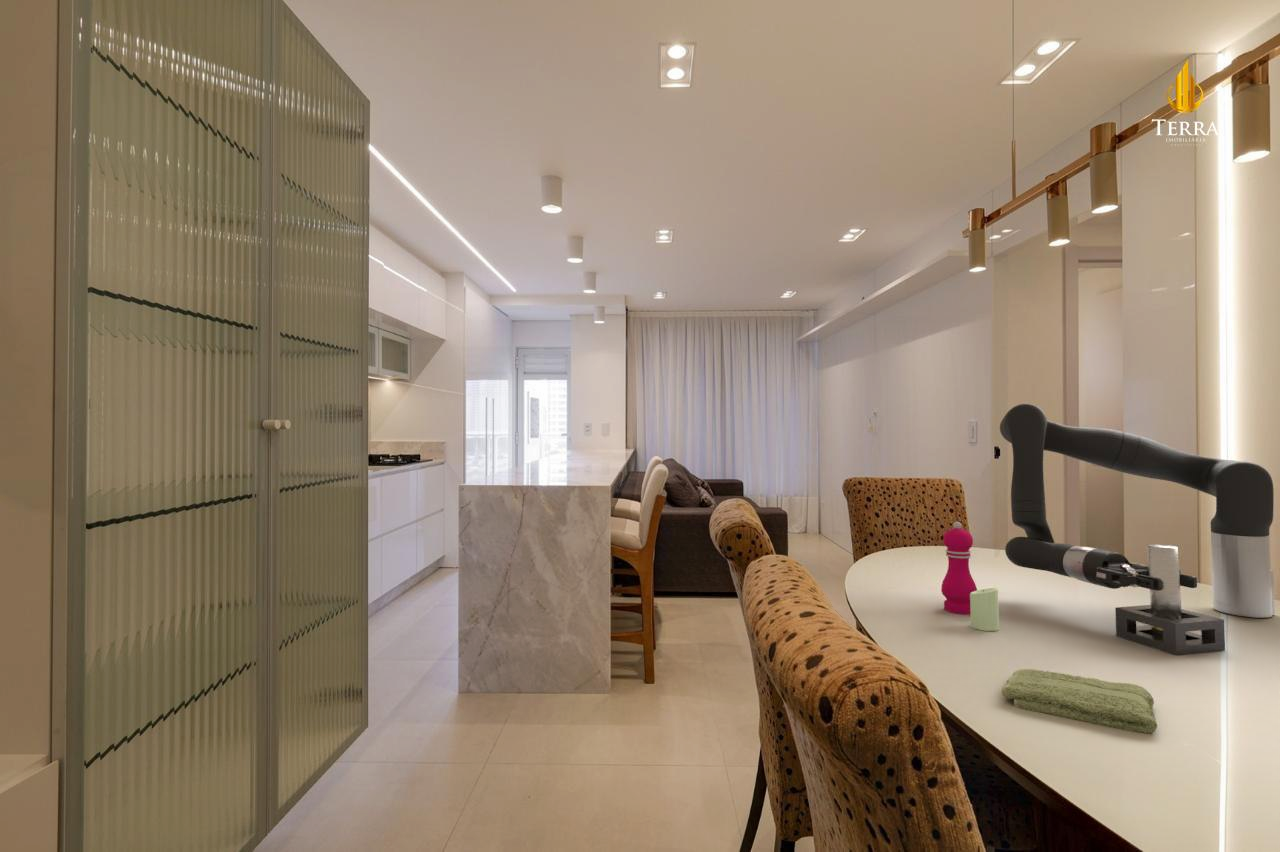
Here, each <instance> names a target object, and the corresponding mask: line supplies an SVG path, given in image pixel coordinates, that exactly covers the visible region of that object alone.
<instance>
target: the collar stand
mask: <svg viewBox="0 0 1280 852" xmlns="http://www.w3.org/2000/svg"><path fill="white" fill-rule="evenodd" d="M1114 609H1115V636H1116V637H1118V638H1121V639H1124V640H1128V641H1130V642H1134V643H1137V644H1140V645H1143V646H1147V647H1150V648H1152V647H1153V648H1152V649H1155V648H1156V650H1158V649H1159V651H1163V652H1165V653H1167V654H1170V655H1175V656H1181V655H1182V656H1183V655H1193V654H1200V653H1201V654H1203V653H1211V652H1222V651H1223V652H1224V651H1225V650H1226V647H1225V646H1226V645H1225V644H1226V642H1225V640H1226V639H1225V635H1226V634H1225V620H1224V619H1223V618H1219V617H1214V616H1210V615H1206V614H1202V613H1198V612H1194V611H1190V610H1186V609H1182V608H1181V610H1182V619H1174V620H1172V619H1168V618H1164V617H1161V616H1157V615H1153V614H1151V604H1144V605H1133V606H1131V605H1130V606H1120V607H1119V606H1117V607H1115V608H1114ZM1137 622H1138V623H1142V624H1145V625H1137ZM1151 626H1155V627H1158V628H1162V629H1163V639H1162V638H1159V637H1155V636H1152V629H1151ZM1195 631H1200V633H1201V634H1197V633H1195Z"/></svg>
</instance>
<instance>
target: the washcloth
mask: <svg viewBox="0 0 1280 852" xmlns="http://www.w3.org/2000/svg"><path fill="white" fill-rule="evenodd" d="M1001 694H1002V696H1003V697H1005V698H1008V700H1013V707H1015V708H1018V709H1023V710H1028V711H1033V712H1039V713H1043V714H1047V715H1051V716H1055V717H1061V718H1067V719H1071V720H1078V721H1081V722H1086V723H1091V724H1095V725H1096V724H1097V725H1101V726H1105V727H1109V728H1110V727H1112V728H1117V729H1118V730H1119V729H1122V730H1125V731H1132V732H1137V733H1139V734H1151V733H1155V731H1156V730H1157V728H1158V723H1157V721H1156V720H1157V719H1156V717H1155V714H1154V711H1153V707H1154V704H1155V701H1154V697H1153V696H1152V693H1150V692H1149V691H1148V690H1147V689H1146V688H1145V687H1143V686H1141V685H1138V684H1135V683H1128V682H1114V681H1107V680H1102V679H1098V678H1094V677H1084V676H1079V675H1076V676H1075V675H1072V674H1067V673H1066V674H1065V673H1061V672H1053V671H1049V670H1047V671H1046V670H1045V671H1044V670H1038V669H1035V668H1034V669H1033V668H1022V669H1018V670H1016V671H1014V672H1013V673H1012V675H1011V676H1010V677H1009V678H1008V679H1007V680H1006V685H1005V686H1003V687H1002V688H1001Z"/></svg>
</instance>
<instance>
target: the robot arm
mask: <svg viewBox="0 0 1280 852" xmlns="http://www.w3.org/2000/svg"><path fill="white" fill-rule="evenodd" d="M999 432H1000V434H1001V436H1002V437H1003V438H1004V440H1005V441H1007V442H1008V443H1010V444H1011V446H1012V458H1013V459H1012V463H1013V464H1012V465H1013V466H1012V474H1011V486H1010V505H1011V507H1010V509H1011V521H1012V523H1013V524H1014V525H1015V526H1016V527H1019V528H1021V529H1022V530H1024V532H1025V534H1026V536H1015V537H1013V538H1011V539H1010V540H1009V541H1008V542H1007V543H1006V545H1005V548H1004V549H1005V551H1004V552H1005V555H1006V557H1007V558H1008V560H1009V561H1010V562H1011V563H1012V564H1014V565H1015V566H1018V567H1021V568H1026V569H1032V570H1039V571H1046V572H1049V573H1054V574H1057V575H1060V576H1064V577H1068V578H1072V579H1076V580H1077V581H1080V582H1084V583H1088V584H1092V585H1095V586H1099V587H1104V588H1108V589H1113V590H1116V589H1120V588H1127V587H1133V588H1139V587H1140V588H1144V589H1148V590H1150V589H1152V590H1156V591H1159V590H1162V580H1161V579H1159V578H1155V577H1150V576H1149V567H1148V564H1142V563H1139V562H1130V561H1129V560H1128V558H1127V557H1126V556H1125V555H1124V554H1123V553H1121V552H1117V551H1113V550H1106V549H1102V548H1096V547H1090V546H1079V545H1072V544H1067V543H1061V542H1060V543H1059V542H1057V543H1056V542H1055V540H1054V537H1053V534H1052V531H1051V529H1050V526H1049V524H1048V520H1047V509H1046V507H1047V506H1046V496H1045V494H1046V492H1045V478H1044V451H1047V452H1053V453H1055V454H1056V453H1057V454H1059V455H1060V454H1061V455H1063V456H1066V457H1071V458H1073V459H1076V460H1079V461H1083V462H1085V463H1089V464H1093V465H1096V466H1100V467H1102V468H1106V469H1109V470H1113V471H1117V472H1119V473H1120V472H1121V473H1124V474H1128V475H1133V476H1137V477H1144V478H1149V479H1155V480H1160V481H1161V480H1162V481H1168V482H1172V483H1176V484H1179V485H1183V486H1185V487H1188V488H1191V489H1195V490H1197V491H1199V492H1202V493H1204V494H1208V495H1210V496H1213V497H1215V506H1216V507H1215V514H1214V516H1213V517H1212V518H1211V520H1210V544H1211V545H1210V547H1211V548H1210V549H1211V572H1212V573H1211V574H1212V576H1211V577H1212V600H1213V601H1212V604H1213V607H1212V608H1213V609H1214V610H1216V611H1218V612H1221V613H1224V614H1229V615H1233V616H1239V617H1247V618H1262V619H1263V618H1264V619H1265V618H1272V617H1273V615H1275V614H1276V610H1275V606H1276V605H1275V585H1274V584H1275V582H1274V581H1275V580H1274V570H1272V567H1271V547H1270V545H1271V544H1270V528H1271V526H1272V523H1273V520H1274V497H1275V496H1274V495H1275V494H1274V493H1275V492H1274V482H1273V479H1272V477H1271V474H1270V473H1269V471H1268V470H1267V469H1266V468H1265V467H1264V466H1262V465H1260V464H1257V463H1255V462H1251V461H1244V460H1234V459H1233V460H1232V459H1221V458H1216V457H1215V458H1214V457H1209V456H1204V455H1203V456H1202V455H1198V454H1192V453H1189V452H1185V451H1182V450H1178V449H1177V448H1174V447H1171V446H1169V445H1166V444H1164V443H1161V442H1159V441H1156V440H1153V439H1150V438H1148V437H1146V436H1145V437H1144V436H1141V435H1137V434H1133V433H1130V432H1125V431H1121V430H1117V429H1116V430H1115V429H1110V428H1102V427H1088V426H1087V427H1085V426H1084V427H1082V426H1070V425H1065V424H1060V423H1056V422H1053V421H1051V420H1048V418H1047V414H1045V412H1044V410H1043V409H1042V408H1041V407H1039V406H1037V405H1035V404H1034V403H1033V404H1031V403H1020V404H1017V405H1015V406H1013V407H1012V408H1010V409H1009V410H1008V411H1007V413H1005V415H1004V416H1003V418H1002V420H1001V422H1000V425H999ZM1179 575H1180V587H1185V588H1189V589H1197V588H1198V579H1197V577H1196V576H1195V575H1191V574H1185V573H1181V569H1179Z"/></svg>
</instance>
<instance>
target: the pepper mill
mask: <svg viewBox="0 0 1280 852" xmlns="http://www.w3.org/2000/svg"><path fill="white" fill-rule="evenodd" d="M962 524H963V523H961V522H960V521H955V522H953V525H952V526H953V528H949V529H948V530H946V531H945V532H944V534H943V536H942V537H943V538H942V540H943V541H942V542H943V544H944V545H945V547H947V548H946V550H945V552H946V553H945V555H946V557H947V559H948V560H947V561H948V565H947V570H946V571H947V572H946V573H945V576H944V578H943V580H942V583H941V590H940V591H941V594H942V595H943V597H944V598H945V600H944V601H943V608H944V610H945V611H947V612H948V611H949V612H948V613H953V614H957V615H971V612H970V593H971V592H974V591H977V590H978V588H977V584H976V582H975V581H974V578H973V577H972V574H971V571H970V566H969V561H970V558H971V557H972V555H971V550H970V549H971V547H973V545H974V538H973V536H972V534H971V533H970V532H969V531H967V530H966V529H963V525H962Z"/></svg>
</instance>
